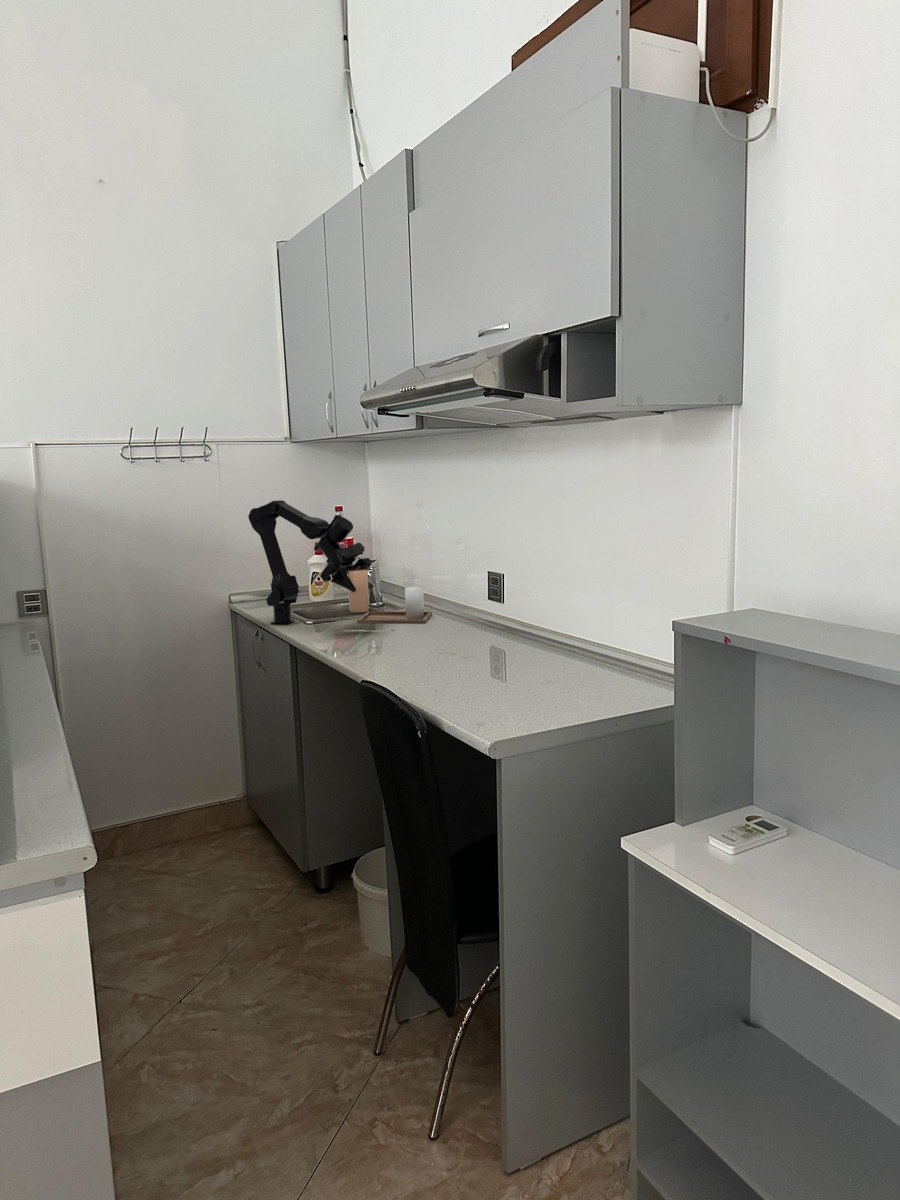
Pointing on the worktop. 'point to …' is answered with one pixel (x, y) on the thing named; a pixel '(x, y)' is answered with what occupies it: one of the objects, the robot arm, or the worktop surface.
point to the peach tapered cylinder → (359, 590)
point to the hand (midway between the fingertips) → (361, 589)
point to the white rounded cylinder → (414, 602)
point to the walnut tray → (391, 618)
